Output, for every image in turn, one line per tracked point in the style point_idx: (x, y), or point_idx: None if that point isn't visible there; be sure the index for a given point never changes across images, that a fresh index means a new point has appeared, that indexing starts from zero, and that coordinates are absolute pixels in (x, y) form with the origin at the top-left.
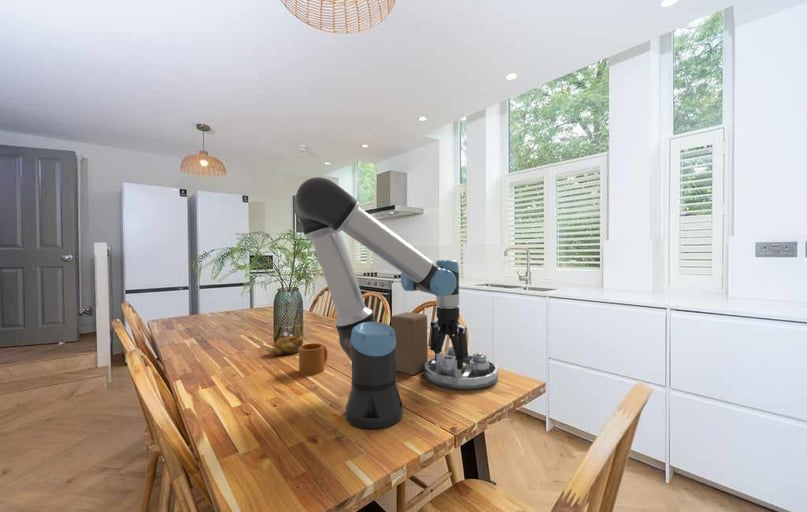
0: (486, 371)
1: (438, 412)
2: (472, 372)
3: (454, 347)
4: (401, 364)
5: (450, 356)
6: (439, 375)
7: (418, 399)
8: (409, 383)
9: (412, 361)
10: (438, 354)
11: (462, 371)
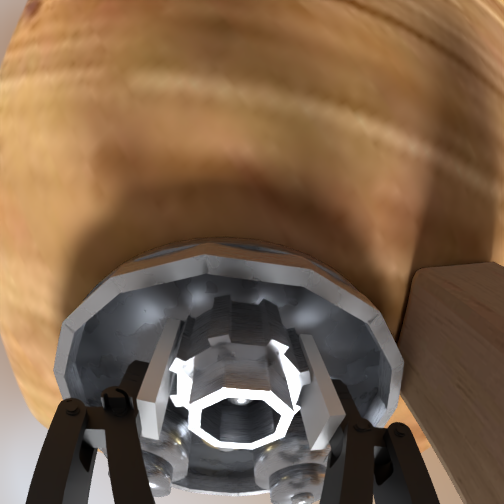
0: None
1: (97, 24)
2: None
3: (131, 484)
4: (484, 275)
5: (248, 443)
6: (232, 260)
7: (232, 43)
8: (386, 179)
9: (457, 298)
10: (326, 418)
11: None
